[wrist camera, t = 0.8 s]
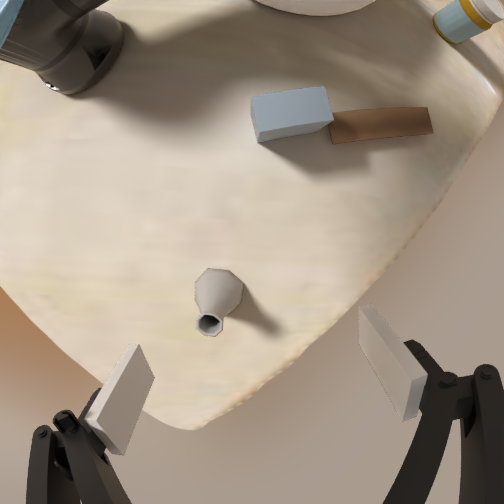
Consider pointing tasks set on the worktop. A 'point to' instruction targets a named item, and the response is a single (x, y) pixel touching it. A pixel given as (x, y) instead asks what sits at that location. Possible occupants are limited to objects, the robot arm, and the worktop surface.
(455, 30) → the bottle
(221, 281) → the flask
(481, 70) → the worktop surface
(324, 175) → the worktop surface
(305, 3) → the pot
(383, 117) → the block
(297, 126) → the slab
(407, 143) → the worktop surface
